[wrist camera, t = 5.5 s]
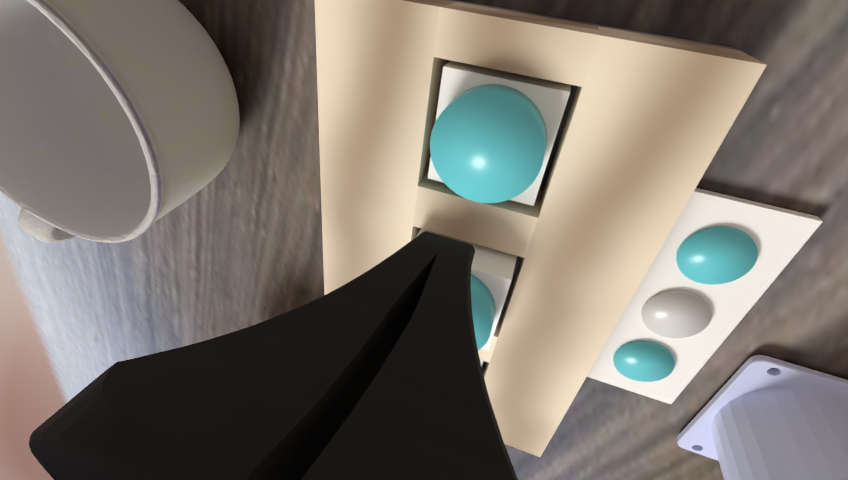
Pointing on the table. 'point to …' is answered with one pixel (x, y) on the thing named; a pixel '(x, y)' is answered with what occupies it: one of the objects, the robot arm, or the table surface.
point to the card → (699, 291)
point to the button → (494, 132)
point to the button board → (561, 184)
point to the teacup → (109, 114)
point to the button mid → (487, 288)
